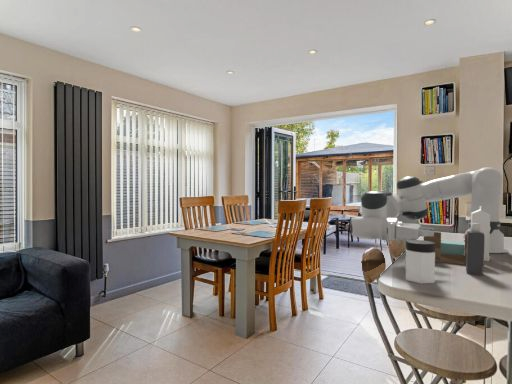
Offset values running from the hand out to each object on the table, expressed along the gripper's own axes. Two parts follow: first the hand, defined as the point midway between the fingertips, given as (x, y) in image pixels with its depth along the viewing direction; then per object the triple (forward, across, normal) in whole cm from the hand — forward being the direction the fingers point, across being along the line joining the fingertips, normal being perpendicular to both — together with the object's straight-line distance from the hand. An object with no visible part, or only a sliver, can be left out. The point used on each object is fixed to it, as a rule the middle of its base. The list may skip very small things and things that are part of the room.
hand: (434, 232), depth 115 cm
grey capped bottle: (+12, -1, -13) cm, 18 cm away
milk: (+16, -29, -13) cm, 35 cm away
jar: (-4, +19, -13) cm, 24 cm away
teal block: (+6, -21, -13) cm, 25 cm away
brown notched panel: (+6, -15, -13) cm, 20 cm away
